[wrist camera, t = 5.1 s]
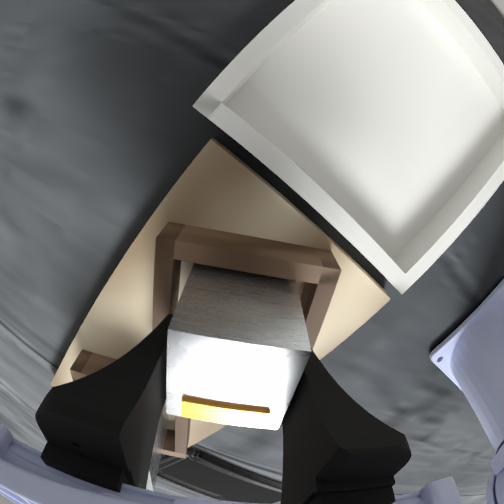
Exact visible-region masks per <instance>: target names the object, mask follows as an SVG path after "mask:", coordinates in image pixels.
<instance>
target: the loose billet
mask: <svg viewBox="0 0 504 504" xmlns="http://www.w3.org/2000/svg"><path fill="white" fill-rule="evenodd" d="M310 354H311V347H310V342H309V338H308V333H307V328H306V324H305V319H304V315H303V310H302V306H301V301H300V297H299V293H298V288H297V284H296V280H290V279H284V278H278V277H272V276H266V275H261V274H255V273H249V272H243V271H237V270H232V269H226V268H220V267H215V266H209V265H204V264H198V263H194V264H193V266H192V269H191V271H190V274H189V276H188V279H187V281H186V284H185V286H184V289H183V291H182V294H181V296H180V299H179V301H178V304H177V306H176V309H175V311H174V314H173V317H172V319H171V322H170V324H169V327H168V335H167V373H166V413H167V414H171V415H176V416H181V417H186V418H191V419H197V420H203V421H209V422H215V423H222V424H229V425H237V426H245V427H254V428H264V429H276V430H278V428H279V426H280V423H281V421H282V419H283V417H284V415H285V413H286V410H287V408H288V406H289V404H290V401H291V399H292V397H293V395H294V392H295V390H296V388H297V385H298V383H299V381H300V378H301V376H302V374H303V371H304V369H305V366H306V364H307V361H308V359H309V357H310Z"/></svg>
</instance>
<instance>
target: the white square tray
mask: <svg viewBox="0 0 504 504" xmlns="http://www.w3.org/2000/svg"><path fill="white" fill-rule="evenodd" d="M192 107H194V108H195V109H196V110H198V111H199V112H200V113H201V114H203V115H204V116H205V117H207V118H208V119H209V120H210V121H212V122H213V123H214V124H216V125H217V126H218V127H219V128H221V129H222V130H223V131H224V132H226V133H227V134H228V135H229V136H231V137H232V138H233V139H234V140H236V141H237V142H238V143H239V144H240V145H242V146H243V147H244V148H245V149H246V150H248V151H249V152H250V153H251V154H253V155H254V156H255V157H256V158H257V159H258V160H260V161H261V162H262V163H263V164H264V165H266V166H267V167H268V168H269V169H270V170H271V171H273V172H274V173H275V174H276V175H277V176H278V177H280V178H281V179H282V180H283V181H284V182H285V183H286V184H288V185H289V186H290V187H291V188H292V189H293V190H294V191H295V192H297V193H298V194H299V195H300V196H301V197H302V198H303V199H304V200H305V201H307V202H308V203H309V204H310V205H311V206H312V207H313V208H314V209H315V210H316V211H318V212H319V213H320V214H321V215H322V216H323V217H324V218H325V219H326V220H327V221H328V222H329V223H330V224H331V225H333V226H334V227H335V228H336V229H337V230H338V231H339V232H340V233H341V234H342V235H343V236H344V237H345V238H346V239H347V240H348V241H349V242H350V243H351V244H352V245H353V246H354V247H355V248H357V249H358V250H359V251H360V252H361V253H362V254H363V255H364V256H365V257H366V258H367V259H368V260H369V261H370V262H371V263H372V264H373V265H374V266H375V267H376V268H377V269H378V270H379V271H380V272H381V273H382V274H383V275H384V277H385V278H386V279H387V280H388V281H389V282H390V283H391V284H392V285H393V286H394V287H395V288H396V289H397V290H398V291H399V292H400V293H401V294H403V293H404V292H405V291H406V290H407V289H408V288H409V287H410V286H411V285H412V284H413V283H414V282H415V281H416V280H417V279H418V278H419V277H420V276H421V275H422V274H423V273H424V272H425V271H426V270H427V269H428V268H429V267H430V266H431V265H432V264H433V263H434V262H435V261H436V260H437V259H438V258H439V257H440V256H441V255H442V254H443V252H444V251H445V250H446V249H447V248H448V247H449V246H450V245H451V244H452V243H453V242H454V240H455V239H456V238H457V237H458V236H459V235H460V234H461V232H462V231H463V230H464V229H465V228H466V227H467V226H468V224H469V223H470V222H471V221H472V220H473V218H474V217H475V216H476V215H477V214H478V212H479V211H480V210H481V209H482V208H483V206H484V205H485V204H486V203H487V201H488V200H489V199H490V197H491V196H492V195H493V194H494V192H495V191H496V190H497V188H498V187H499V186H500V184H501V183H502V182H503V180H504V65H503V63H502V61H501V60H500V58H499V57H498V55H497V54H496V52H495V51H494V50H493V48H492V47H491V45H490V44H489V42H488V41H487V40H486V38H485V37H484V36H483V34H482V33H481V32H480V30H479V29H478V28H477V26H476V25H475V24H474V23H473V21H472V20H471V19H470V18H469V16H468V15H467V14H466V13H465V11H464V10H463V9H462V8H461V7H460V6H459V4H458V3H457V2H456V1H455V0H295V1H294V2H293V3H291V4H290V5H289V6H288V7H287V8H286V9H285V10H283V11H282V12H281V13H280V14H279V15H278V16H277V17H276V18H275V19H274V20H273V21H271V22H270V23H269V24H268V25H267V26H266V27H265V28H264V29H263V30H262V31H261V32H260V33H259V34H258V35H257V36H256V37H255V38H254V39H253V40H252V41H251V42H250V43H249V44H248V45H247V46H246V47H245V48H244V49H243V50H242V51H241V52H240V53H239V54H238V55H237V56H236V57H235V58H234V59H233V60H232V61H231V63H230V64H229V65H228V66H227V67H226V68H225V69H224V70H223V71H222V72H221V73H220V74H219V76H218V77H217V78H216V79H215V80H214V81H213V82H212V83H211V85H210V86H209V87H208V88H207V89H206V90H205V92H204V93H203V94H202V95H201V96H200V97H199V99H198V100H197V101H196V102H195V103H194V105H193V106H192Z"/></svg>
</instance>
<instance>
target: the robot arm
mask: <svg viewBox="0 0 504 504" xmlns="http://www.w3.org/2000/svg"><path fill="white" fill-rule="evenodd" d="M172 317H173V314H168V315H167V316H166V317H165V318H164V319H163V320H162V321H161V322H160V323H159V325H158V326H157V327H156V328H155V329H154V330H153V331H152V332H151V333H149V334H148V335H147V336H146V337H145V338H144V339H143V340H142V341H141V342H140V343H138V344H137V345H136V346H135V347H133V348H132V349H131V350H130V351H128V352H127V353H126V354H124V355H123V356H122V357H120V358H119V359H117V360H116V361H114V362H112V363H111V364H109V365H107V366H106V367H104V368H102V369H100V370H98V371H96V372H94V373H92V374H90V375H88V376H85V377H83V378H80V379H78V380H75V381H72V382H69V383H65V384H62V385H59V386H55V387H52V389H51V390H50V391H49V393H48V394H47V395H46V397H45V398H44V400H43V401H42V403H41V405H40V407H39V408H38V410H37V412H36V415H35V418H36V421H37V423H38V426H39V427H40V429H41V431H42V433H43V435H44V436H45V438H46V440H47V441H48V442H47V444H46V446H45V448H44V450H43V452H40V451H38V450H36V449H34V448H32V447H30V446H28V445H26V444H24V443H22V442H20V441H18V440H16V439H14V438H13V435H12V434H11V432H10V431H9V430H8V428H6V427H5V426H4V425H3V424H1V423H0V494H1V495H3V496H5V497H6V498H8V499H9V500H11V501H13V502H14V503H16V504H260V503H244V502H232V501H222V500H214V499H206V498H195V497H186V498H183V497H178V496H173V495H168V494H163V493H159V492H154V491H150V490H146V486H147V480H148V474H149V468H150V463H151V457H152V452H153V447H154V442H155V437H156V433H157V428H158V424H159V419H160V416H161V413H162V410H163V407H164V404H165V401H166V373H167V335H168V327H169V324H170V322H171V319H172ZM429 357H430V359H431V361H432V362H433V363H434V364H435V365H436V366H437V367H439V368H440V369H441V370H442V371H443V372H444V373H445V374H446V375H447V376H448V377H449V378H450V379H451V380H452V381H453V382H454V383H455V384H456V385H457V386H458V387H459V388H460V389H461V390H462V391H463V393H464V394H465V396H466V398H467V399H468V401H469V403H470V405H471V407H472V408H473V410H474V412H475V414H476V416H477V417H478V419H479V421H480V423H481V425H482V427H483V428H484V430H485V432H486V434H487V436H488V438H489V440H490V442H491V444H492V446H493V448H494V450H495V452H496V454H497V455H496V456H495V457H494V458H493V459H492V460H491V461H490V465H491V467H492V470H493V473H492V474H491V476H490V478H489V481H488V484H487V492H486V499H487V504H504V279H503V280H502V281H501V282H500V283H499V284H498V286H497V287H496V288H495V289H494V290H493V291H492V292H491V293H490V295H489V296H488V297H487V298H486V299H485V300H484V301H483V302H482V303H481V304H480V305H479V306H478V307H477V309H476V310H475V311H474V312H473V313H472V314H471V315H470V316H469V317H468V318H467V319H466V320H465V321H464V322H463V323H462V324H461V325H460V326H459V327H458V328H457V329H456V330H454V331H453V332H452V333H451V334H450V335H449V336H448V337H447V338H446V339H445V340H444V341H443V342H442V343H440V344H439V345H438V346H437V347H436V348H435V349H434V350H433V351H432V352H431V353H430V356H429ZM282 426H283V478H282V494H281V504H463V503H462V501H461V498H460V495H459V492H458V489H457V487H456V484H455V481H454V479H453V477H452V476H450V477H447V478H443V479H440V480H436V481H433V482H431V483H429V484H427V485H426V486H424V487H423V488H422V489H421V490H420V491H418V492H413V493H409V494H404V495H399V496H394V492H393V489H392V486H393V485H394V484H395V480H394V475H395V474H396V473H397V472H398V471H399V470H401V469H402V468H403V467H404V466H405V465H406V464H407V462H408V461H409V460H410V458H411V451H410V448H409V445H408V442H407V440H406V437H405V435H404V434H402V433H400V432H399V431H397V430H395V429H393V428H391V427H389V426H388V425H386V424H384V423H383V422H381V421H380V420H378V419H377V418H375V417H374V416H373V415H371V414H370V413H369V412H367V411H366V410H365V409H364V408H362V407H361V406H360V405H359V404H357V403H356V402H355V401H354V400H353V399H352V398H351V397H350V396H349V395H348V394H347V393H346V392H345V391H344V390H343V389H342V388H341V387H340V386H339V385H338V384H337V382H336V381H335V380H334V379H333V378H332V376H331V375H330V374H329V373H328V371H327V370H326V369H325V367H324V366H323V364H322V363H321V362H320V360H319V359H318V357H317V356H316V354H315V353H314V351H313V350H312V348H311V354H310V357H309V359H308V361H307V364H306V366H305V369H304V371H303V374H302V376H301V378H300V381H299V383H298V385H297V388H296V390H295V392H294V395H293V397H292V399H291V401H290V404H289V406H288V408H287V410H286V413H285V415H284V417H283V419H282Z"/></svg>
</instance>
